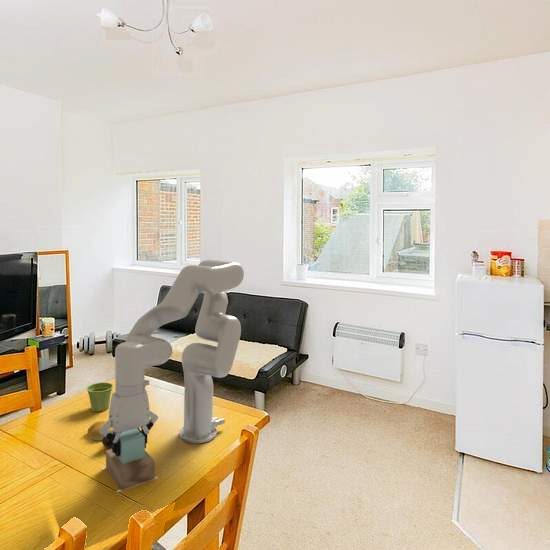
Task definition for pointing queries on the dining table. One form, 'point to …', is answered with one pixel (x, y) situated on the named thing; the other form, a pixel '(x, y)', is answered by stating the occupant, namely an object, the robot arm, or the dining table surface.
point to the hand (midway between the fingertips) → (130, 449)
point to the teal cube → (131, 446)
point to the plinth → (130, 470)
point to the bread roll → (97, 430)
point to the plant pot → (99, 396)
